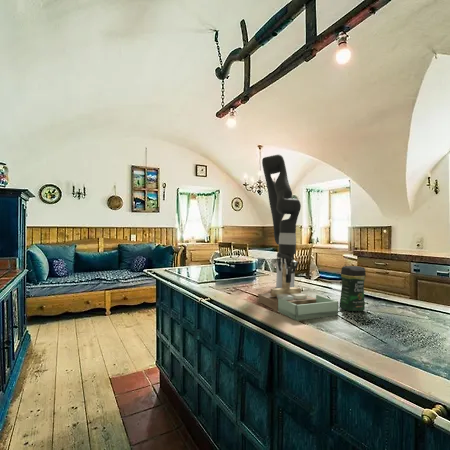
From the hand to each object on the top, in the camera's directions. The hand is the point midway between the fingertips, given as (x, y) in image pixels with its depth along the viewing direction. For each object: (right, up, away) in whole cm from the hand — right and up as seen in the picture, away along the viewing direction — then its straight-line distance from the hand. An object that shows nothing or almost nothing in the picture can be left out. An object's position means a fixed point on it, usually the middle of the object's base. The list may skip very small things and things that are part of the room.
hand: (286, 281), depth 131 cm
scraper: (0, -6, 0) cm, 6 cm away
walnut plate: (0, -10, 0) cm, 10 cm away
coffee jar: (+27, -11, -7) cm, 29 cm away
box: (+6, -10, -14) cm, 18 cm away
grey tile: (-2, -6, -5) cm, 8 cm away
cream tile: (+5, -7, -2) cm, 9 cm away
